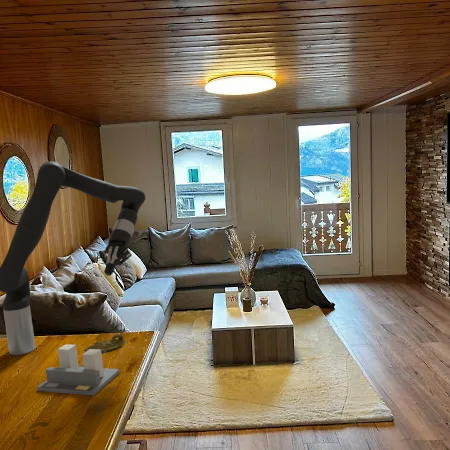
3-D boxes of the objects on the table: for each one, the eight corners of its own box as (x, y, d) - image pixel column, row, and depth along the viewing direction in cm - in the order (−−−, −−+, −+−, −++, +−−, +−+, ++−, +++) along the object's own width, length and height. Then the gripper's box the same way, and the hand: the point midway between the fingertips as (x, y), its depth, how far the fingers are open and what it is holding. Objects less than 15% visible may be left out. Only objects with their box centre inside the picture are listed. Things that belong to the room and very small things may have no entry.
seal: (87, 360, 163) (128, 349, 169) (86, 348, 162) (127, 338, 168) (83, 349, 171) (122, 339, 178) (81, 337, 170) (121, 328, 177)
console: (67, 369, 153) (65, 354, 153) (119, 372, 147) (118, 357, 147) (37, 390, 139) (35, 374, 138) (93, 395, 133) (91, 379, 132)
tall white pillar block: (92, 374, 144) (90, 349, 143) (103, 374, 143) (101, 349, 142) (85, 379, 140) (82, 354, 139) (96, 380, 139) (93, 354, 138)
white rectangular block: (68, 368, 150) (65, 344, 149) (78, 369, 149) (75, 344, 148) (60, 374, 146) (57, 349, 145) (71, 374, 145) (68, 349, 144)
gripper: (101, 228, 167) (86, 269, 157) (133, 227, 163) (119, 268, 153) (110, 240, 172) (96, 280, 162) (141, 239, 169) (129, 280, 158)
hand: (107, 274), depth 158 cm, fingers closed
